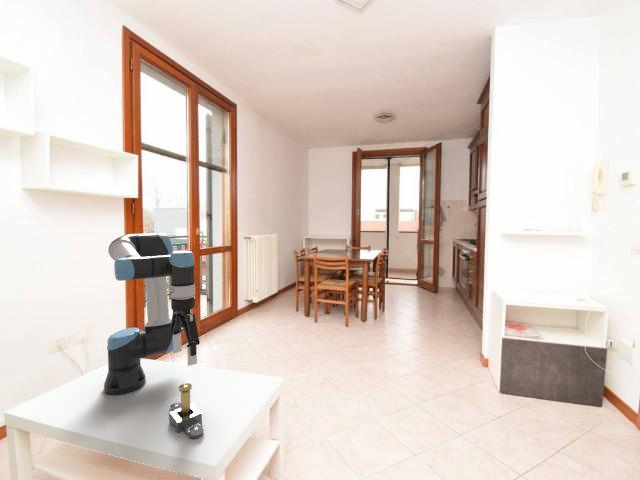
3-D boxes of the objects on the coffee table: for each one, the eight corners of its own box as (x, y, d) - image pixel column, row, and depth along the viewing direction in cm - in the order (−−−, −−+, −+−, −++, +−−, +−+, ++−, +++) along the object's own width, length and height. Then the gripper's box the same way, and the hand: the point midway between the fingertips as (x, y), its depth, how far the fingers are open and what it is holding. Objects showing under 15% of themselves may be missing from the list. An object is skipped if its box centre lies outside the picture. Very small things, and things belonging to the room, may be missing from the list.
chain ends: (162, 413, 116) (162, 403, 116) (185, 404, 122) (185, 395, 122) (186, 443, 100) (185, 433, 100) (210, 432, 106) (210, 422, 106)
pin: (177, 422, 111) (177, 385, 110) (189, 417, 114) (188, 382, 113) (182, 427, 108) (181, 390, 108) (194, 422, 111) (193, 386, 110)
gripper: (159, 292, 115) (161, 350, 117) (185, 306, 97) (187, 374, 99) (180, 289, 121) (182, 344, 122) (209, 301, 102) (210, 366, 104)
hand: (184, 357), depth 110 cm, fingers open, 13 cm apart
